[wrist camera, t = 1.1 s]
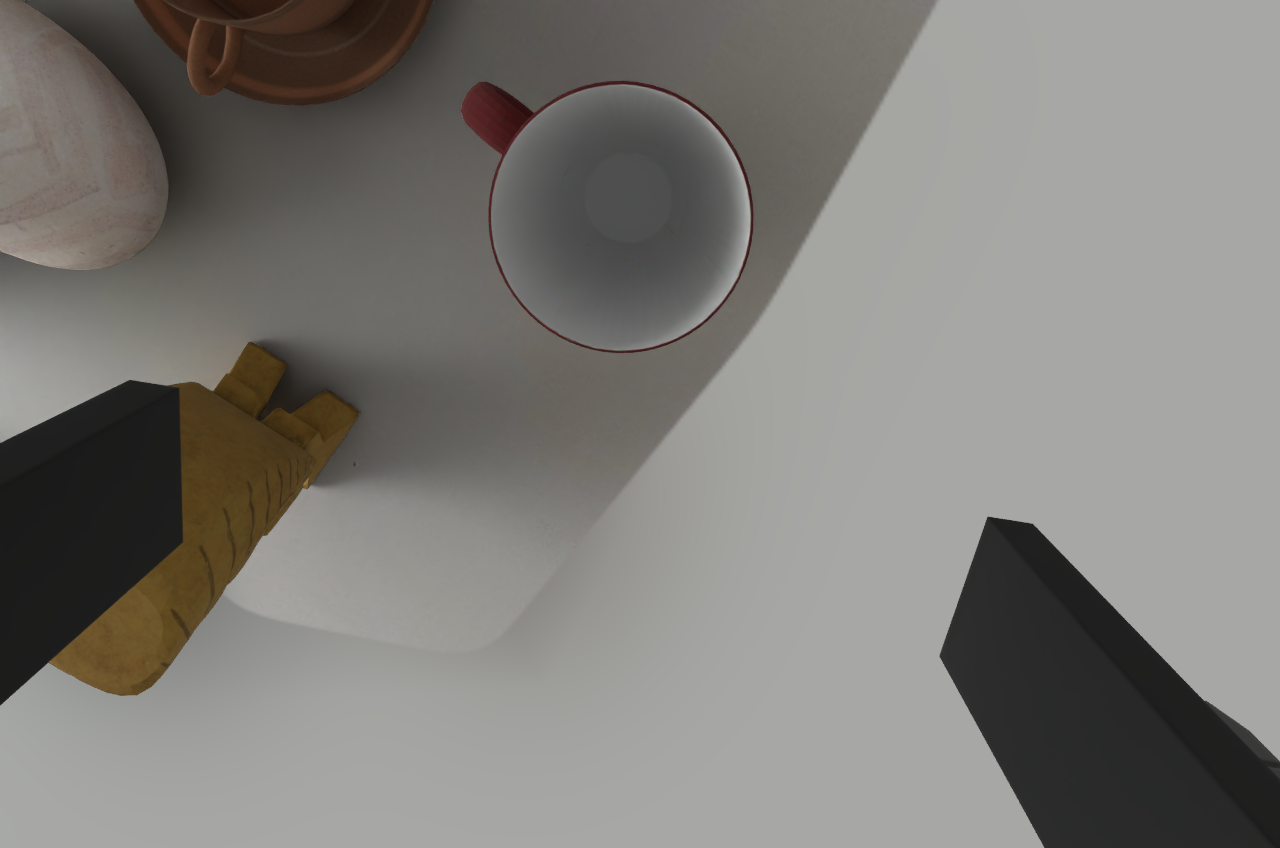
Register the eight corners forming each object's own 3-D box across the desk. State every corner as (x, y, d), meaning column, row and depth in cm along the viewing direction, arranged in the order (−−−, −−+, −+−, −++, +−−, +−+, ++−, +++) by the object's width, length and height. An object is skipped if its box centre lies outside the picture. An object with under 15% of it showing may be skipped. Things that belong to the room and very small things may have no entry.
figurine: (186, 419, 38) (-92, 595, 24) (252, 306, 36) (-5, 422, 22) (320, 502, 39) (134, 715, 25) (390, 397, 37) (233, 562, 23)
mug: (445, 210, 34) (368, 241, 25) (528, 21, 32) (477, -24, 22) (667, 326, 36) (674, 397, 27) (762, 155, 33) (806, 166, 24)
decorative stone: (241, 144, 34) (175, 147, 29) (134, 309, 36) (56, 336, 31) (-54, -92, 31) (-180, -131, 26) (-149, 104, 33) (-281, 100, 28)
